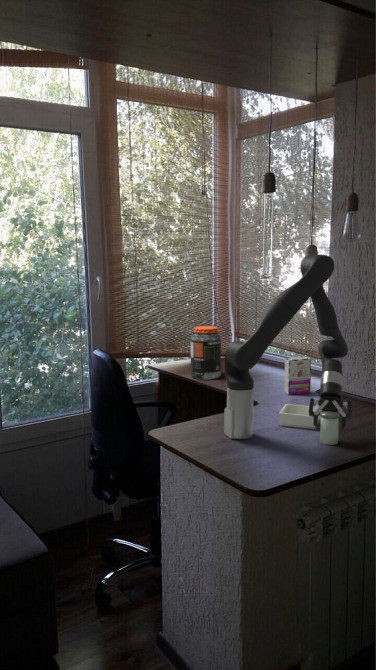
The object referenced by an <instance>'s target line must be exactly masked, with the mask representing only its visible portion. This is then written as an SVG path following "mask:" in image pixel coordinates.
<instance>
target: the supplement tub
mask: <svg viewBox="0 0 376 670" xmlns="http://www.w3.org/2000/svg"><path fill="white" fill-rule="evenodd" d="M190 336H191V337H190V340H189V341H190V345H189V347H190V375H191V377H192V378H194V379H199V380H214V379H218V378H219V377H221V376H222V375H221V374H222V339H221V336H220V335H219V331H218V327H217V326H211V325H201V326H200V325H199V326H194V327H193V333H192V335H190Z"/></svg>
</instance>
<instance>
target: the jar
mask: <svg viewBox="0 0 376 670" xmlns="http://www.w3.org/2000/svg"><path fill="white" fill-rule="evenodd" d="M340 418H341V417H340V413H338V412H335V411H321V412H320V421H319V424H320V426H319V442H320V443H321V444H323V445H331V446H333V445H337V444H338V442H339V428H340V427H339V424H340V421H339V420H340Z"/></svg>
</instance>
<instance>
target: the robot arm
mask: <svg viewBox="0 0 376 670" xmlns="http://www.w3.org/2000/svg"><path fill="white" fill-rule="evenodd" d="M299 270H300V272H301V276H302V277H301V278H300V279H298V281H296V282H295V283H293V284H292V285H291V286H289V287H288V288H286V289H284V290H283V291H281V292H280V293H278V294H277V295H276V296H275V297H274V298H273V299H272V301H270V302H269V304H268V305H267V307H266V308H265V309H264V311H263V313H262V315H261V317H260V321H259V325H258V327H257V328H256V330H255V332H253V334H251V336H250V337H249V338H248V339H247V340H246V341H245V342H244V341H240V340H233V341H232V342H231V341H230V343H228V344H227V346H226V348H225V352H224V376H225V377H224V378H225V382H226V407H224V419H223V420H224V422H223V423H224V424H223V425H224V428H223V430H224V432H223V434H224V435H226V436H227V437H228V438H229V439H231V440H232V439H234V440H236V439H237V440H245V439H246V440H247V439H250V438H252V437H253V436H254V435H253V432H254V393H255V392H254V391H255V390H254V389H255V387H254V386H255V383H254V379H253V377H252V376H251V373H250V370H251V369H253V368H254V367H255V366H256V365H257V364H258V362H259V361H260V360H261V358H262V357H263V355H264V354H265V352H266V350H267V349H268V348H269V346H270V345H271V344H272V342H273V341H274V340H275V339H276V338H277V336H279V334H280V333H281V332H282V331H283V329H284V328H285V327H286V326H287V325H288V324H289V323H290V322H291V320H292V319H293V318H294V317H295V316H296V314H297V313H298V312H299V311H300V309H301V308H302V307H303V306H304V305H305V304H306V303H307V302H308V300H309V299H311V302H312V306H313V308H314V313H315V317H316V322H317V327H318V331H319V334H320V336H325V337H330V338H332V339H326V340H322V341H320V343H319V344H318V346H317V348H318V353H319V357H320V360H321V361H320V362H321V377H320V384H319V387H320V388H319V389H320V390H319V398H318V399H314V398H313V397H311V398H310V400H309V405H308V406H309V416H313V417H314V420H313V425H314V426H315V428H316V429H318V426H319V423H318V416H319V415H320V412H321V411H335V412H338V413H340V417H339V418H341V423H340V425H341V426H340V427H341V429H340V430H341V431H344V429H346V425H347V420H351V419H352V415H353V413H352V412H353V410H352V401H351V400H347V401H343V377H342V376H343V365H342V362H341V361H340V360H339V359H341V358H345V357H346V356H347V355H348V353H349V346H348V344H347V341H346V340H345V338H344V336H343V335H342V331H341V330H340V328H339V324H338V317H337V312H336V310H335V307H334V306H333V304H332V302H331V300H330V298H329V297H328V295H327V293H326V291H325V288H324V284H325V283H326V282H328V280H329V279H330V278H331V276H332V275H333V273H334V270H335V261H334V259H333V258H332V257H331V256H329V255H326V254H307V255H305V256H304V257H303V258H302V259H301V261H300V265H299ZM316 405H318V407H319V408H318V409H317V410H316V411H315V412H313V407H317V406H316ZM343 406H344V408H345V409H347V410H346V411H347V414H346V413H345V412H344V411H343V409H342V408H343Z"/></svg>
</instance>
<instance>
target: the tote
mask: <svg viewBox="0 0 376 670" xmlns="http://www.w3.org/2000/svg"><path fill="white" fill-rule="evenodd" d="M319 407H320V406H313V412H315V411H316V410H317V409H318V408H319ZM313 420H314V417H313V416H309V405H302V404H291V403H285V404H284V405H283V407H282V408H281V409H280V411H279V412H278V426H279V427H288V428H297V429H304V430H305V429H306V430H314V429H315V431H316V430H317V428H315V426H314V425H313ZM320 422H321V416H320V415H319V416H318V424H320Z"/></svg>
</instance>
